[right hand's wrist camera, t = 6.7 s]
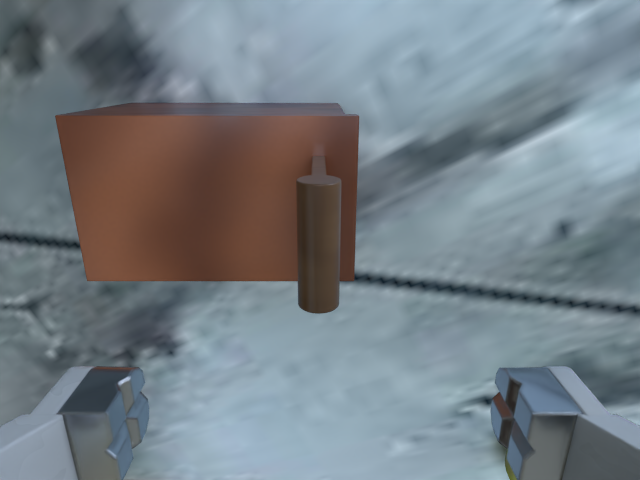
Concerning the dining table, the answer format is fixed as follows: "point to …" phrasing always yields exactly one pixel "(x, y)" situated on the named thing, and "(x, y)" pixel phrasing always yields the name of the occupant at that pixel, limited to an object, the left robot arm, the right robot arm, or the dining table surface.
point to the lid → (216, 198)
